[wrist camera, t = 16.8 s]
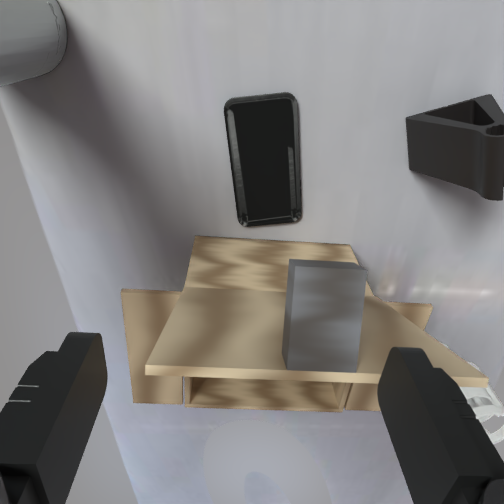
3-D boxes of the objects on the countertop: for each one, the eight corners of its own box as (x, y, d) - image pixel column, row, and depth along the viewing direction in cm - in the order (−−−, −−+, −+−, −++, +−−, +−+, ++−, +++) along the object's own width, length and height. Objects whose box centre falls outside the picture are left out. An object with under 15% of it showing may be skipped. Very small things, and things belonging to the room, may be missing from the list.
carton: (152, 338, 59) (133, 405, 48) (145, 232, 49) (120, 288, 39) (365, 347, 61) (390, 413, 50) (396, 247, 51) (434, 303, 41)
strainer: (442, 326, 59) (499, 413, 46) (470, 347, 61) (532, 435, 48) (406, 353, 61) (450, 442, 49) (434, 372, 64) (483, 462, 51)
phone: (238, 227, 49) (222, 100, 41) (238, 223, 49) (222, 98, 42) (302, 221, 48) (297, 92, 41) (301, 217, 49) (296, 90, 42)
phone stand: (489, 93, 42) (570, 118, 32) (487, 147, 45) (560, 186, 35) (404, 117, 43) (456, 148, 33) (408, 168, 46) (456, 211, 36)
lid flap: (145, 375, 22) (148, 258, 21) (184, 292, 40) (186, 227, 39) (487, 387, 23) (505, 277, 22) (375, 302, 41) (383, 239, 40)
